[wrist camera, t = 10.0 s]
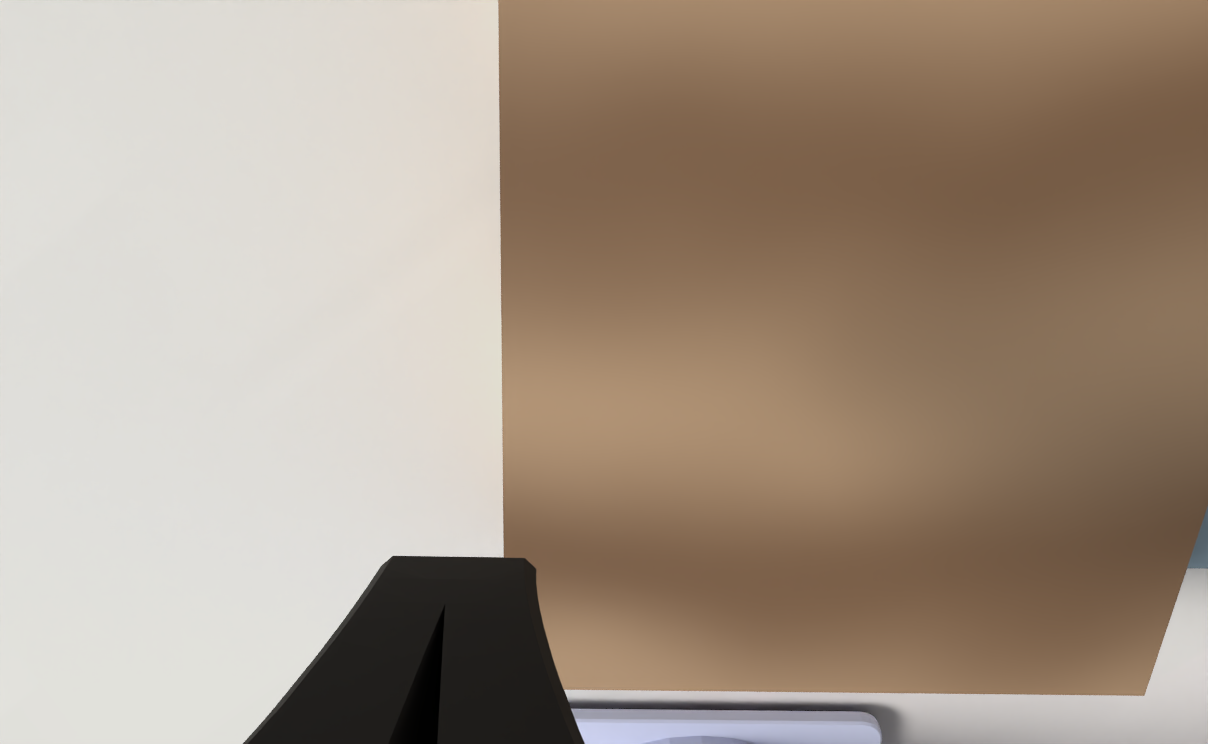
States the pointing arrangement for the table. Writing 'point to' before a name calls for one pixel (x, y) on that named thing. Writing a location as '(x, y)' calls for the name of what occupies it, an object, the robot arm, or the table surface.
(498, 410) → the table surface
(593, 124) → the brown wooden block
